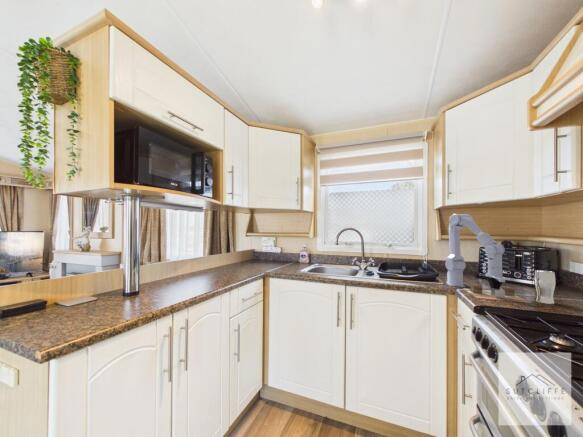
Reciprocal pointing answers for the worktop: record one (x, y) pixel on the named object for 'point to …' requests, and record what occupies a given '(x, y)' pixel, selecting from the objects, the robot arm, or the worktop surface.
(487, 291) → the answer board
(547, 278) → the beer glass
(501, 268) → the robot arm
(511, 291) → the walnut block
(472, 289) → the walnut block
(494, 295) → the metal block
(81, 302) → the worktop surface
